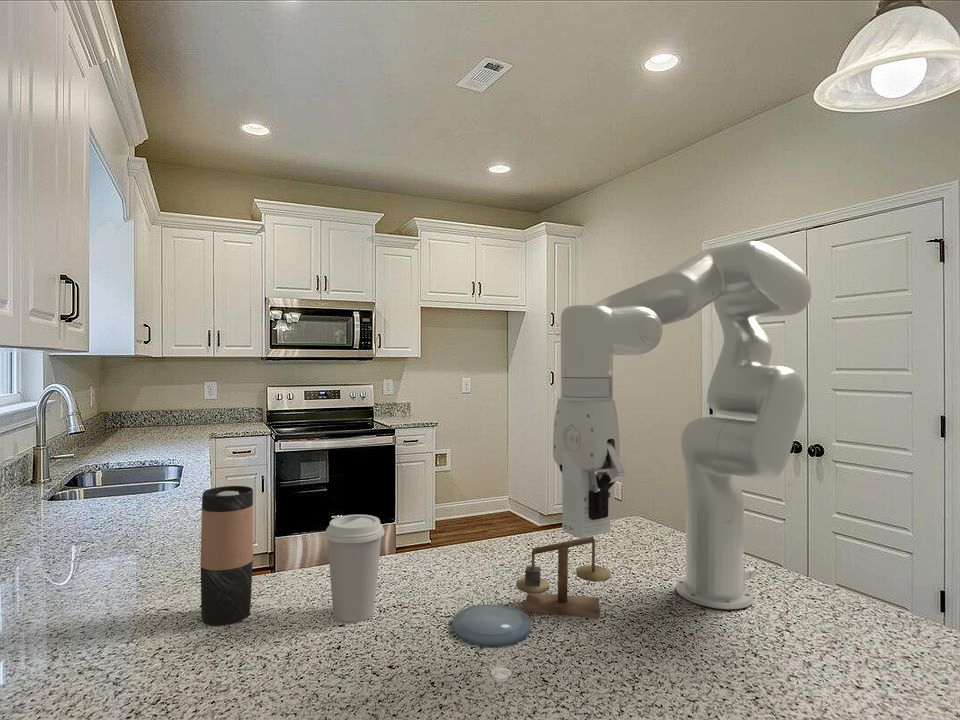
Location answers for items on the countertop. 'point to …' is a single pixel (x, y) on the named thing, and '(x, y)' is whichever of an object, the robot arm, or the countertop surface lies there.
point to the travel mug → (226, 554)
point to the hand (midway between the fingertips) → (586, 512)
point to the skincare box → (579, 501)
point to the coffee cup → (354, 565)
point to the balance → (561, 584)
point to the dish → (491, 625)
